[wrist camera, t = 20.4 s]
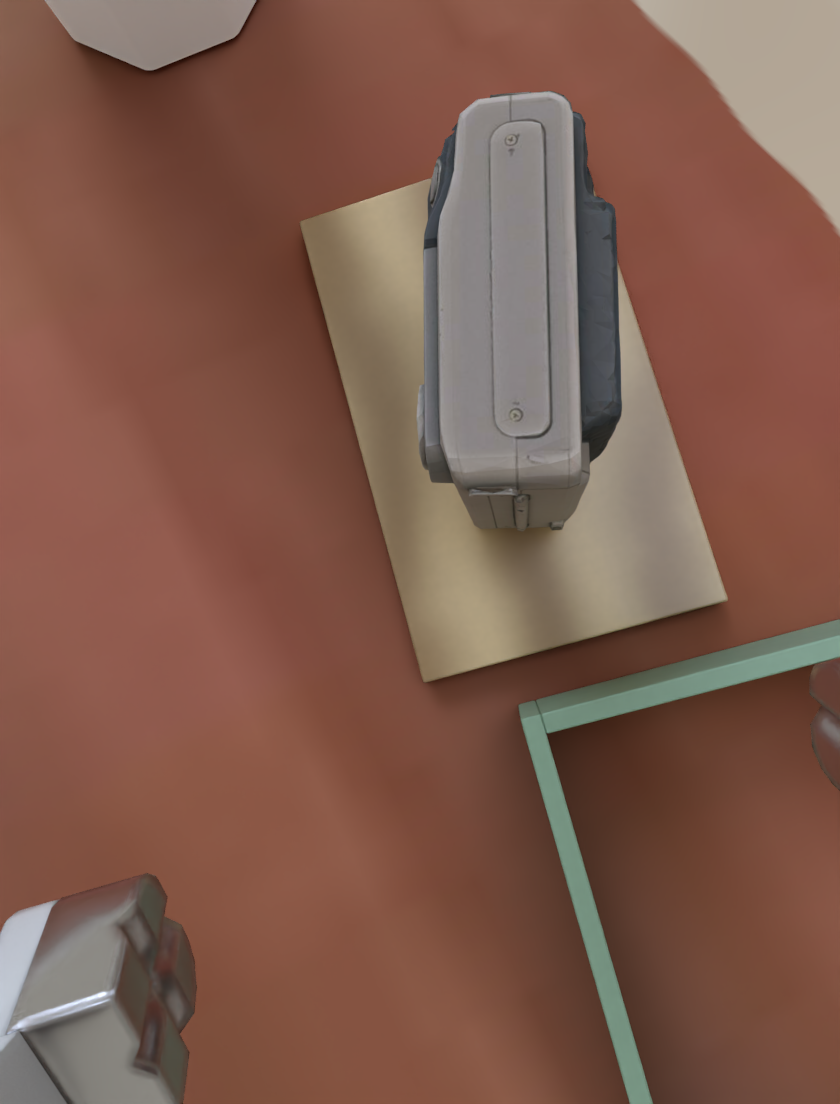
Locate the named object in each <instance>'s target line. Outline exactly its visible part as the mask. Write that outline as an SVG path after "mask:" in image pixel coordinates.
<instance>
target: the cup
mask: <svg viewBox="0 0 840 1104" xmlns="http://www.w3.org/2000/svg"><path fill="white" fill-rule="evenodd" d="M45 2H46V3H47V4H48V6H49V7H50V8H51V10H52V11H53V13H54V14H55V15H56V17H57V18H58V19H59V21H60V22H61V23H62V25H63V26H64V27H65V29H66V30H67V31H68V33H69V34H70V36H71V37H72V38H73V39H74V40H75V41H77V42H79V43H82V44H84V45H87V46H89V47H91V48H94V49H96V50H98V51H101V52H103V53H106V54H108V55H110V56H113V57H115V58H117V59H120V60H122V61H125V62H127V63H129V64H132V65H134V66H136V67H139V68H141V69H144V70H155V69H158V68H160V67H163V66H165V65H168V64H170V63H173V62H175V61H178V60H180V59H183V58H185V57H188V56H190V55H193V54H195V53H197V52H200V51H202V50H205V49H207V48H210V47H212V46H215V45H217V44H220V43H222V42H225V41H227V40H230V39H232V38H234V37H235V36H236V35H237V34H239V32H240V30H241V28H242V26H243V25H244V23H245V21H246V19H247V17H248V15H249V13H250V11H251V10H252V8H253V6H254V4H255V2H256V0H45Z"/></svg>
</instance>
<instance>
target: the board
mask: <svg viewBox="0 0 840 1104" xmlns="http://www.w3.org/2000/svg"><path fill="white" fill-rule="evenodd" d="M431 181H432V178H430V179H427V180H424V181H421V182H418V183H415V184H412V185H409V186H406V187H403V188H400V189H397V190H394V191H390V192H387V193H384V194H381V195H378V196H375V197H372V198H369V199H366V200H363V201H360V202H357V203H354V204H351V205H348V206H345V207H342V208H339V209H336V210H333V211H330V212H327V213H324V214H321V215H318V216H315V217H312V218H309V219H306V220H303V221H300V227H301V231H302V235H303V238H304V242H305V246H306V249H307V253H308V257H309V261H310V264H311V268H312V272H313V275H314V279H315V283H316V287H317V290H318V294H319V298H320V301H321V305H322V309H323V313H324V316H325V320H326V324H327V327H328V331H329V335H330V338H331V342H332V346H333V350H334V353H335V357H336V361H337V364H338V368H339V372H340V376H341V379H342V383H343V387H344V390H345V394H346V398H347V402H348V405H349V409H350V413H351V416H352V420H353V424H354V428H355V431H356V435H357V439H358V442H359V446H360V450H361V453H362V457H363V461H364V465H365V468H366V472H367V476H368V479H369V483H370V487H371V491H372V494H373V498H374V502H375V505H376V509H377V513H378V517H379V520H380V524H381V528H382V531H383V535H384V539H385V543H386V546H387V550H388V554H389V557H390V561H391V565H392V568H393V572H394V576H395V580H396V583H397V587H398V591H399V594H400V598H401V602H402V606H403V609H404V613H405V617H406V620H407V624H408V628H409V632H410V635H411V639H412V643H413V646H414V650H415V654H416V658H417V661H418V665H419V669H420V672H421V676H422V680H423V682H424V683H427V682H430V681H434V680H438V679H441V678H445V677H449V676H452V675H456V674H460V673H464V672H467V671H471V670H475V669H478V668H482V667H486V666H489V665H493V664H497V663H500V662H504V661H508V660H512V659H515V658H519V657H523V656H526V655H530V654H534V653H537V652H541V651H545V650H549V649H552V648H556V647H560V646H563V645H567V644H571V643H574V642H578V641H582V640H585V639H589V638H593V637H597V636H600V635H604V634H608V633H611V632H615V631H619V630H622V629H626V628H630V627H633V626H637V625H641V624H645V623H648V622H652V621H656V620H659V619H663V618H667V617H670V616H674V615H678V614H681V613H685V612H689V611H693V610H696V609H700V608H704V607H707V606H711V605H715V604H718V603H722V602H726V601H727V600H728V598H727V595H726V592H725V589H724V586H723V583H722V579H721V576H720V573H719V570H718V567H717V564H716V561H715V558H714V555H713V552H712V549H711V546H710V543H709V540H708V537H707V534H706V531H705V527H704V524H703V521H702V518H701V515H700V512H699V509H698V506H697V503H696V500H695V497H694V494H693V491H692V488H691V485H690V482H689V478H688V475H687V472H686V469H685V466H684V463H683V460H682V457H681V454H680V451H679V448H678V445H677V442H676V439H675V436H674V433H673V430H672V426H671V423H670V420H669V417H668V414H667V411H666V408H665V405H664V402H663V399H662V396H661V393H660V390H659V387H658V384H657V381H656V377H655V374H654V371H653V368H652V365H651V362H650V359H649V356H648V353H647V350H646V347H645V344H644V341H643V338H642V335H641V332H640V329H639V325H638V322H637V319H636V316H635V313H634V310H633V307H632V304H631V301H630V298H629V295H628V292H627V289H626V286H625V283H624V280H623V276H622V273H621V270H620V267H619V264H618V261H617V265H618V295H619V335H620V352H621V399H622V412H621V417H620V420H619V422H618V423H617V425H616V429H615V431H614V433H613V435H612V437H611V438H610V439H609V441H608V444H607V446H606V448H605V450H604V451H603V452H602V453H601V455H600V456H598V457H597V458H596V459H594V460H593V461H592V462H591V463H590V477H589V481H588V484H587V486H586V488H585V490H584V492H583V494H582V496H581V498H580V501H579V503H578V506H577V508H576V510H575V512H574V513H573V514H572V515H571V517H570V518H569V519H568V520H567V521H566V522H565V523H564V527H563V529H562V530H551V529H550V527H540V528H526V529H525V530H524V531H523V532H521V531H518V530H517V528H497V529H480V528H478V527H476V526H475V525H474V523H473V521H472V519H471V517H470V515H469V513H468V511H467V509H466V507H465V505H464V503H463V501H462V499H461V497H460V495H459V492H458V490H457V488H456V486H455V484H454V483H432V481H431V480H430V476H429V470H425V469H424V467H423V466H422V462H421V458H420V455H419V440H418V430H417V419H416V418H417V405H418V394H419V387H420V385H423V384H424V282H423V248H424V233H425V229H426V225H427V221H428V200H427V199H428V194H429V189H430V185H431ZM594 196H596V194H595V191H594Z"/></svg>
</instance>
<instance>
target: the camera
mask: <svg viewBox="0 0 840 1104" xmlns="http://www.w3.org/2000/svg"><path fill="white" fill-rule="evenodd" d="M585 124H586V123H585V121H584V119H583V117H582V115H581V114H579V113H576V112H572V107H571V103H570V102H569V101H568V100H567V99H566V97H565V96H564V95H561V94H559V93H556V92H553V91H546V92H536V93H531V92H523V93H507V94H497V95H491V96H490V98H484V99H477V100H476V101H475V102H474V103H473V104H471V105H470V106H469V107H468V108H467V109H465V110H464V111H463V112H462V113H461V114H460V115H459V119H458V123H457V124H456V125H455V127H454V128H453V129H452V131H453V130H455V132H454V133H453V134H452V135H451V136H449V137H448V138H447V139H445V143H444V147H443V150H442V153H441V156H439V157H438V159H437V162H436V165H435V168H434V173H433V177H432V181H431V185H430V189H429V194H428V199H427V200H428V221H427V225H426V229H425V233H424V248H423V282H424V384H423V385H420V387H419V394H418V405H417V418H416V419H417V430H418V440H419V455H420V458H421V462H422V466H423V467H424V469H425V470H429V476H430V480H431V481H432V483H454V484H455V486H456V488H457V490H458V492H459V495H460V497H461V499H462V501H463V503H464V505H465V507H466V509H467V511H468V513H469V515H470V517H471V519H472V521H473V523H474V525H475V526H476V527H478V528H480V529H497V528H517V530H518V531H521V532H523V531H524V530H525V529H526V528H540V527H550V529H551V530H562V529H563V527H564V523H565V522H566V521H567V520H568V519H569V518H570V517H571V515H572V514H573V513H574V512H575V510H576V508H577V506H578V503H579V501H580V498H581V496H582V494H583V492H584V490H585V488H586V486H587V484H588V481H589V477H590V463H591V462H592V461H593V460H594V459H596V458H597V457H598V456H600V455H601V453H602V452H603V451H604V450H605V448H606V446H607V444H608V441H609V439H610V438H611V437H612V435H613V433H614V431H615V429H616V425H617V423H618V422H619V420H620V417H621V412H622V399H621V352H620V335H619V295H618V265H617V244H616V217H615V208H614V207H613V206H612V205H611V204H610V203H607V202H605V201H604V199H603V198H599V197H596V196H594V185H593V181H592V177H591V175H590V172H589V169H588V167H587V157H588V151H587V143H586V136H585Z"/></svg>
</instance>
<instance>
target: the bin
mask: <svg viewBox="0 0 840 1104" xmlns="http://www.w3.org/2000/svg"><path fill="white" fill-rule="evenodd" d="M839 657H840V619H839V620H835V621H831V622H827V623H823V624H820V625H816V626H812V627H808V628H805V629H801V630H797V631H793V632H790V633H786V634H782V635H778V636H774V637H771V638H767V639H763V640H759V641H756V642H752V643H748V644H744V645H741V646H737V647H733V648H729V649H725V650H722V651H718V652H714V653H710V654H707V655H703V656H699V657H695V658H692V659H688V660H684V661H680V662H676V663H673V664H669V665H665V666H661V667H658V668H654V669H650V670H646V671H643V672H639V673H635V674H631V675H627V676H624V677H620V678H616V679H612V680H609V681H605V682H601V683H597V684H594V685H590V686H586V687H582V688H578V689H575V690H571V691H567V692H563V693H560V694H556V695H552V696H548V697H545V698H541V699H537V700H536V702H535V701H534V700H533V701H529V702H526V703H522V704H519V705H518V707H519V713H520V719H521V723H522V727H523V730H524V734H525V737H526V741H527V744H528V748H529V751H530V755H531V758H532V762H533V765H534V769H535V772H536V776H537V779H538V783H539V786H540V790H541V793H542V797H543V800H544V804H545V807H546V811H547V814H548V818H549V821H550V825H551V829H552V832H553V836H554V839H555V843H556V846H557V850H558V853H559V857H560V860H561V864H562V867H563V871H564V874H565V878H566V881H567V885H568V888H569V892H570V895H571V899H572V902H573V906H574V909H575V913H576V916H577V920H578V923H579V927H580V930H581V934H582V937H583V941H584V945H585V948H586V952H587V955H588V959H589V962H590V966H591V969H592V973H593V976H594V980H595V983H596V987H597V990H598V994H599V997H600V1001H601V1004H602V1008H603V1011H604V1015H605V1018H606V1022H607V1025H608V1029H609V1032H610V1036H611V1039H612V1043H613V1046H614V1050H615V1053H616V1057H617V1061H618V1064H619V1068H620V1071H621V1075H622V1078H623V1082H624V1085H625V1089H626V1092H627V1096H628V1099H629V1103H630V1104H653V1102H652V1099H651V1095H650V1092H649V1088H648V1085H647V1081H646V1078H645V1074H644V1071H643V1067H642V1064H641V1060H640V1057H639V1053H638V1050H637V1047H636V1043H635V1040H634V1036H633V1033H632V1029H631V1026H630V1022H629V1019H628V1015H627V1012H626V1008H625V1005H624V1001H623V998H622V994H621V991H620V988H619V984H618V981H617V977H616V974H615V970H614V967H613V963H612V960H611V956H610V953H609V949H608V946H607V942H606V939H605V935H604V932H603V929H602V925H601V922H600V918H599V915H598V911H597V908H596V904H595V901H594V897H593V894H592V890H591V887H590V883H589V880H588V877H587V873H586V870H585V866H584V863H583V859H582V856H581V852H580V849H579V845H578V842H577V838H576V835H575V831H574V828H573V824H572V821H571V818H570V814H569V811H568V807H567V804H566V800H565V797H564V793H563V790H562V786H561V783H560V779H559V776H558V772H557V769H556V765H555V762H554V759H553V755H552V752H551V748H550V745H549V741H548V738H547V734H546V733H552V732H556V731H560V730H564V729H568V728H571V727H575V726H579V725H583V724H587V723H591V722H594V721H598V720H602V719H606V718H610V717H614V716H617V715H621V714H625V713H629V712H633V711H637V710H640V709H644V708H648V707H652V706H656V705H660V704H663V703H667V702H671V701H675V700H679V699H683V698H686V697H690V696H694V695H698V694H702V693H706V692H709V691H713V690H717V689H721V688H725V687H728V686H732V685H736V684H740V683H744V682H748V681H751V680H755V679H759V678H763V677H767V676H771V675H774V674H778V673H782V672H786V671H790V670H794V669H797V668H801V667H805V666H809V665H813V664H817V663H820V662H824V661H828V660H832V659H836V658H839Z"/></svg>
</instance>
